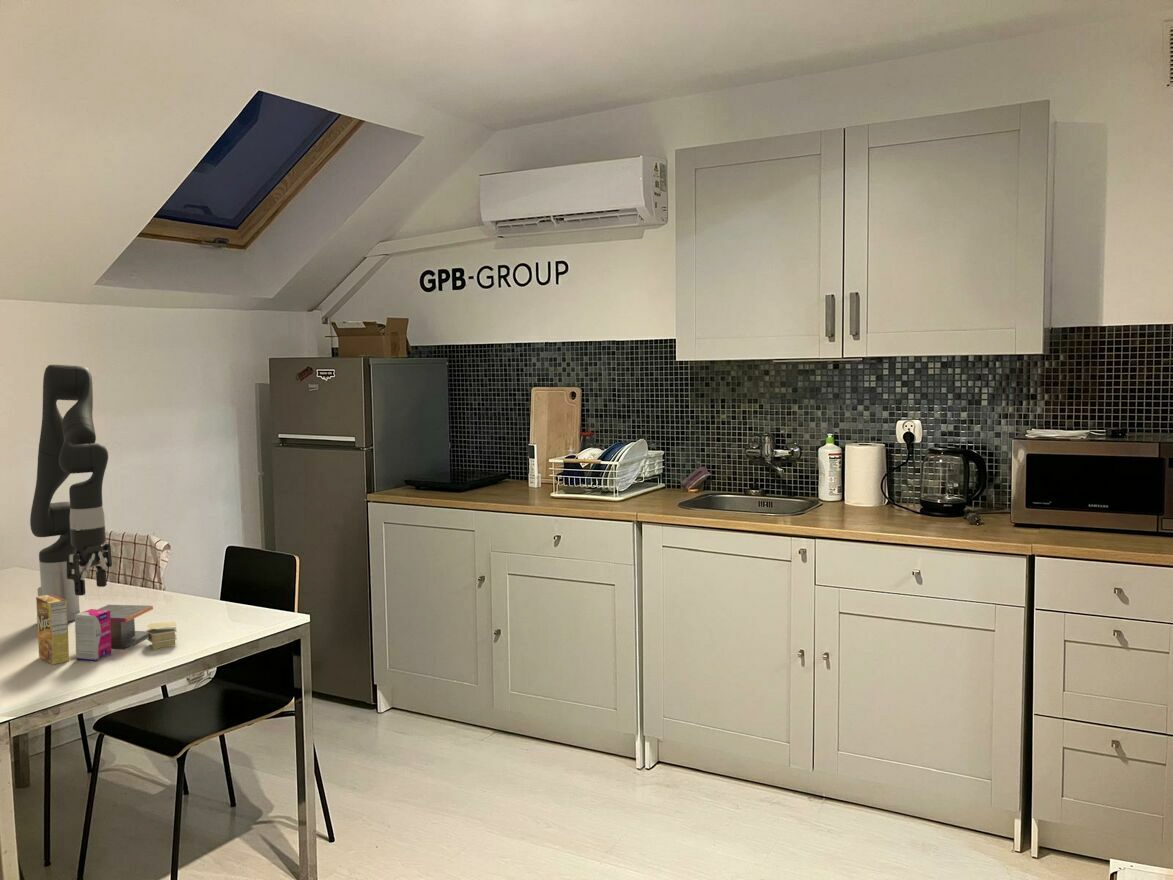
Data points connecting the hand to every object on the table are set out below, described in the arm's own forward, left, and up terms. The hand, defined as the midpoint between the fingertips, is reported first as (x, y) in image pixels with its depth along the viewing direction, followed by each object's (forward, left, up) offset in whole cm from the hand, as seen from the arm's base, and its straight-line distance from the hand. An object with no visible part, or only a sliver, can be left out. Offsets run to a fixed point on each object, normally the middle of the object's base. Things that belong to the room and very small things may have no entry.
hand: (91, 590), depth 232 cm
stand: (-2, +13, -17) cm, 21 cm away
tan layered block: (+11, +11, -17) cm, 23 cm away
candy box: (-9, -2, -17) cm, 19 cm away
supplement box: (0, 0, -17) cm, 17 cm away
